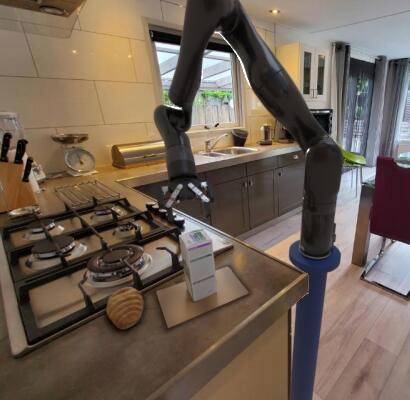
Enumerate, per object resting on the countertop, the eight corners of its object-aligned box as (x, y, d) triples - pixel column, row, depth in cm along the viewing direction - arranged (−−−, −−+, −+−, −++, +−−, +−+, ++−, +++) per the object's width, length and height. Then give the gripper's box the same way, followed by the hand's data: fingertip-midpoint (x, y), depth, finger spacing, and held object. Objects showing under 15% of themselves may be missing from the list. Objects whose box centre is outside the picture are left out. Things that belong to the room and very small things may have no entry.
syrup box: (218, 292, 58) (213, 238, 53) (192, 303, 55) (185, 246, 50) (209, 279, 62) (204, 227, 57) (185, 288, 59) (177, 234, 54)
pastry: (150, 320, 51) (147, 306, 49) (111, 338, 47) (107, 323, 45) (140, 294, 57) (137, 280, 56) (106, 307, 54) (101, 293, 52)
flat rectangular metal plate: (227, 266, 67) (227, 266, 67) (249, 293, 58) (249, 293, 58) (156, 292, 58) (156, 291, 58) (167, 328, 49) (167, 328, 49)
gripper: (151, 160, 63) (158, 219, 58) (208, 156, 69) (220, 210, 63) (154, 175, 70) (161, 229, 64) (206, 170, 75) (217, 220, 70)
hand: (190, 220), depth 64 cm, fingers open, 8 cm apart
